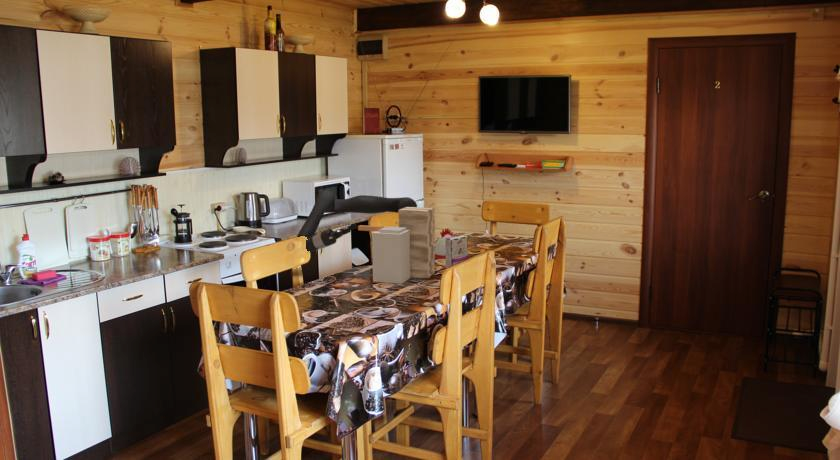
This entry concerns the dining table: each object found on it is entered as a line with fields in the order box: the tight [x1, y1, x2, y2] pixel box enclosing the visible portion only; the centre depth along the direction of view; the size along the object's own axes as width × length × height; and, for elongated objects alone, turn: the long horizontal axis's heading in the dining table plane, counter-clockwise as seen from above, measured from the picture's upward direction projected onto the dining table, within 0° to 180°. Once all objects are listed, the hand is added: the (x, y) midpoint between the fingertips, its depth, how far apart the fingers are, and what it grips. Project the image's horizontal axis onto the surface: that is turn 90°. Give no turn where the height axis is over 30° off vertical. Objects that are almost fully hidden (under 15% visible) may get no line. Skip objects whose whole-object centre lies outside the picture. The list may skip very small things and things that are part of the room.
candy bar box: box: [445, 235, 469, 269], centre depth 367 cm, size 11×5×16 cm, turn 129°
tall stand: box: [398, 206, 436, 279], centre depth 356 cm, size 11×14×32 cm
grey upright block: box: [371, 230, 411, 285], centre depth 347 cm, size 12×14×23 cm
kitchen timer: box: [435, 227, 454, 260], centre depth 401 cm, size 14×14×15 cm
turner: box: [357, 224, 406, 234], centre depth 346 cm, size 9×22×2 cm, turn 70°
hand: (352, 227), depth 351 cm, fingers open, 8 cm apart
